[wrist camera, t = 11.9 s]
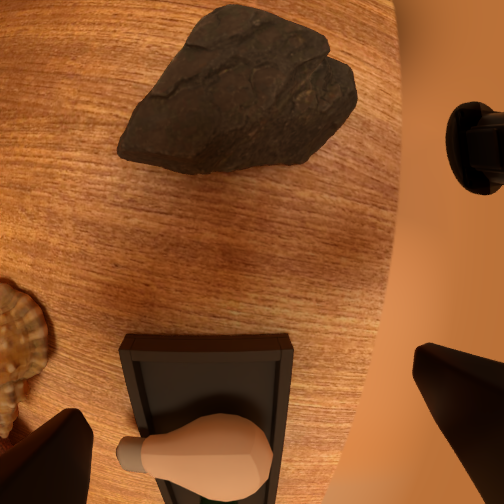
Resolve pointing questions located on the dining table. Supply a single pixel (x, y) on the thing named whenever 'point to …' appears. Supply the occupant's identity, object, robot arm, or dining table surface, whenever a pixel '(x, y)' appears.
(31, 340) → the seashell
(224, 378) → the tray
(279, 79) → the rock
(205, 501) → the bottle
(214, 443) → the light bulb
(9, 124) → the dining table surface
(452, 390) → the robot arm
